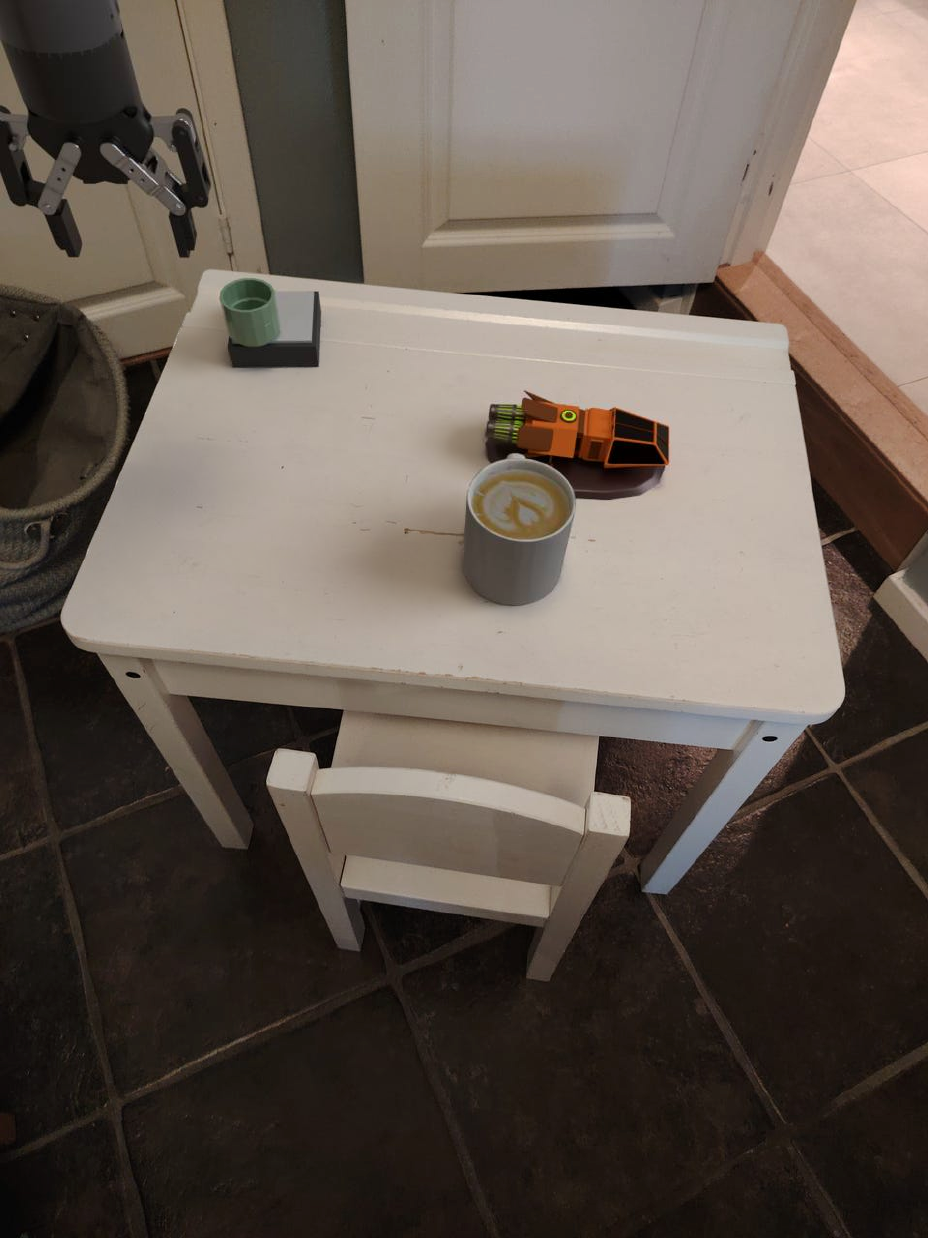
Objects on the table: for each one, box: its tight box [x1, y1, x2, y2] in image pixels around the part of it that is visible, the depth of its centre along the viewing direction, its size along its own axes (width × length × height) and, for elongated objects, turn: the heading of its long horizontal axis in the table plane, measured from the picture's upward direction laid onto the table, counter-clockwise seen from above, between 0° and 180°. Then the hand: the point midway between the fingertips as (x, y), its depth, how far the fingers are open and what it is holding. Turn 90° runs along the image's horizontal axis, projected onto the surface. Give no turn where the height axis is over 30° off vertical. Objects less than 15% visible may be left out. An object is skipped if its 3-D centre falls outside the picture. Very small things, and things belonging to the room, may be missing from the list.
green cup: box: [219, 277, 280, 347], centre depth 94 cm, size 6×6×5 cm
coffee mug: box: [461, 453, 577, 606], centre depth 80 cm, size 13×10×10 cm
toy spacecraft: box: [484, 389, 670, 500], centre depth 89 cm, size 12×20×6 cm, turn 82°
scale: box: [227, 290, 322, 369], centre depth 99 cm, size 10×10×3 cm
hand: (131, 251), depth 67 cm, fingers open, 8 cm apart
